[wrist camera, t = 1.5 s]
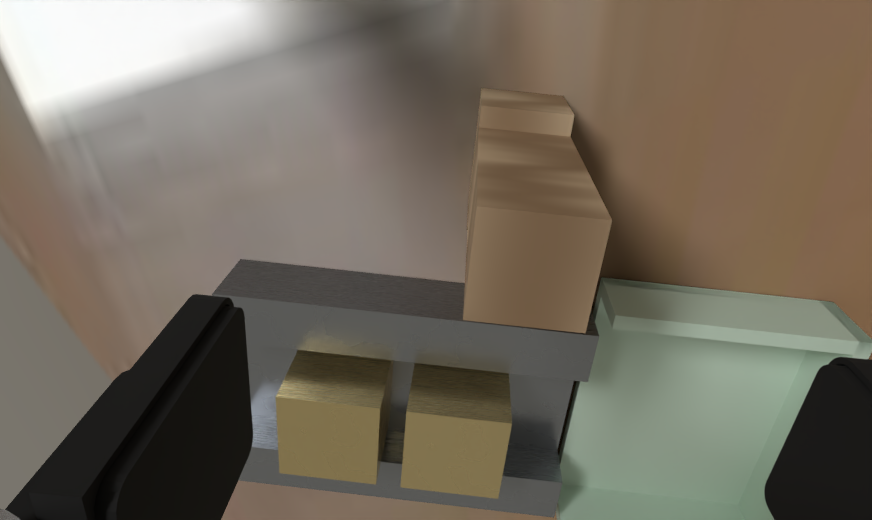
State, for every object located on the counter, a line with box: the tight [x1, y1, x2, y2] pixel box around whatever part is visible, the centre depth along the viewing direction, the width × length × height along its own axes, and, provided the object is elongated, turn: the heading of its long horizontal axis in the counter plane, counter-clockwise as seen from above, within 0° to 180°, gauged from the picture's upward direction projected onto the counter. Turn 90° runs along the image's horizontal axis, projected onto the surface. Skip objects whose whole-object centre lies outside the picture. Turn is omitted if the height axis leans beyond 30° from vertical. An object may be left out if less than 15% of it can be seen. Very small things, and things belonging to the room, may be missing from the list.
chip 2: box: [400, 363, 512, 499], centre depth 25 cm, size 4×4×4 cm
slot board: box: [212, 259, 599, 517], centre depth 26 cm, size 15×10×3 cm, turn 85°
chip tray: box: [556, 277, 872, 520], centre depth 26 cm, size 10×12×3 cm
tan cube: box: [276, 350, 393, 484], centre depth 25 cm, size 4×4×4 cm
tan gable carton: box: [463, 88, 612, 333], centre depth 18 cm, size 3×4×10 cm
